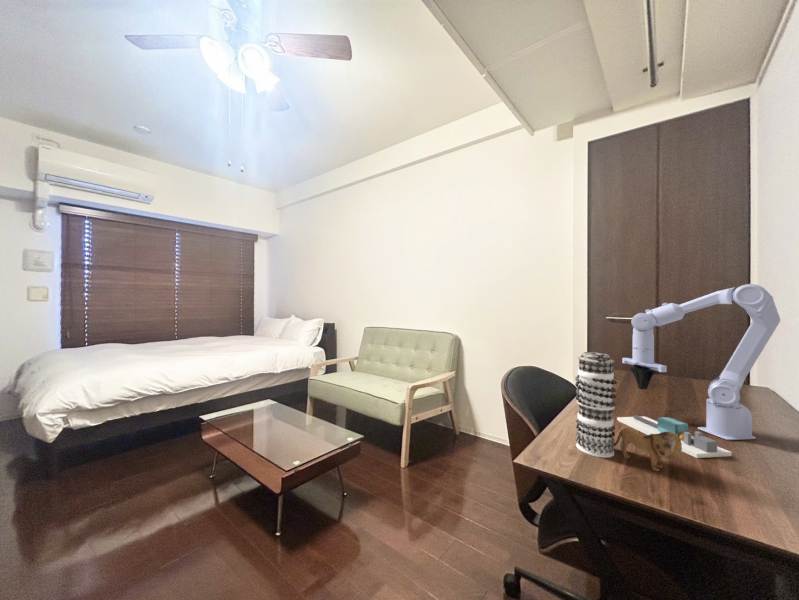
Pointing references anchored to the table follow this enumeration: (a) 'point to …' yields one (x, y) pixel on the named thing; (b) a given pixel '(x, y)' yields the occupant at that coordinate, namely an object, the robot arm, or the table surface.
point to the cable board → (690, 444)
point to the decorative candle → (595, 404)
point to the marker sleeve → (671, 425)
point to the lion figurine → (651, 445)
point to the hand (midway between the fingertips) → (642, 388)
